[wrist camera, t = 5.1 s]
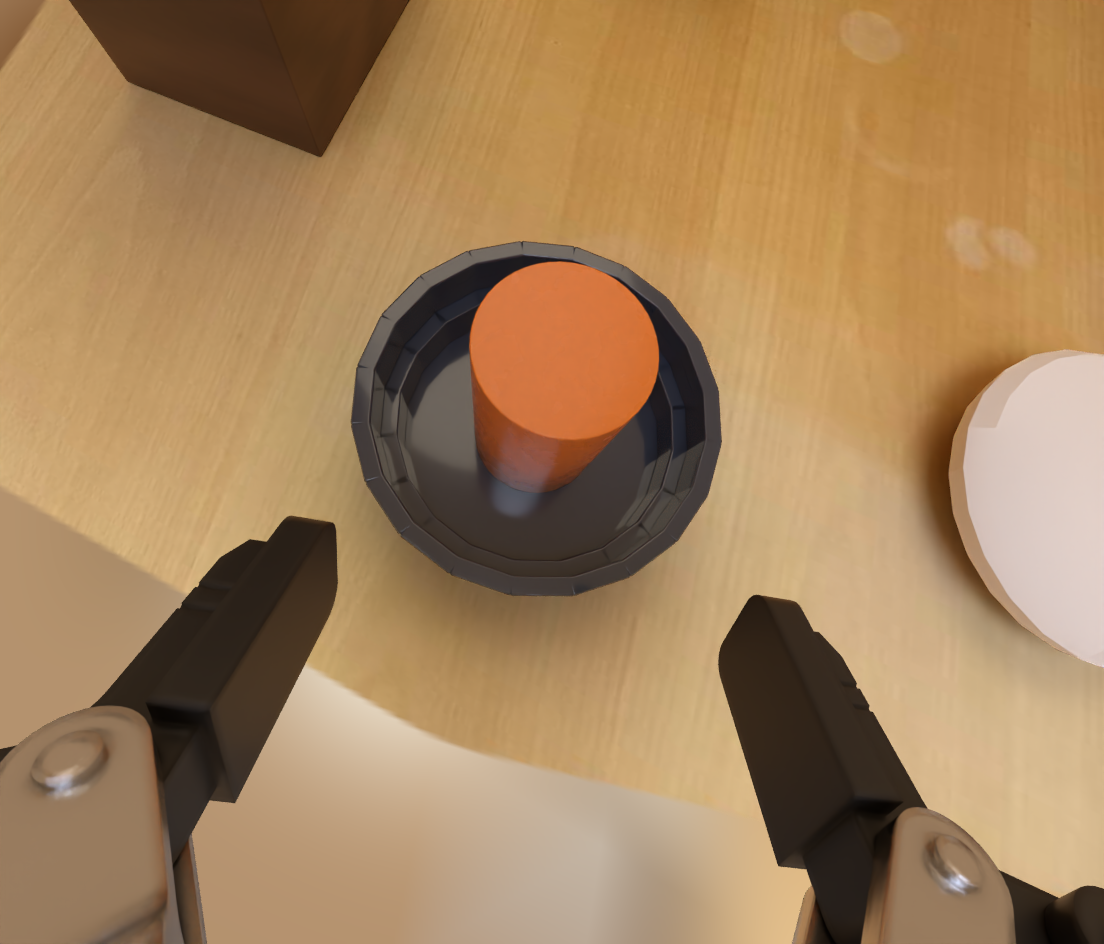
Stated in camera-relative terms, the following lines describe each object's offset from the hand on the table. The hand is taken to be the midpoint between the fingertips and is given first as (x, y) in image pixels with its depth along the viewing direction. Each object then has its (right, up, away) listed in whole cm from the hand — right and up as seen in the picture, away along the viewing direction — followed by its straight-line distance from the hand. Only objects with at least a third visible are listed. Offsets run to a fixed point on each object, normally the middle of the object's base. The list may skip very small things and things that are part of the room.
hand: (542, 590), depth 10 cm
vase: (+27, 0, +17) cm, 32 cm away
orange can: (-1, +4, +13) cm, 14 cm away
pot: (-1, +4, +14) cm, 15 cm away
